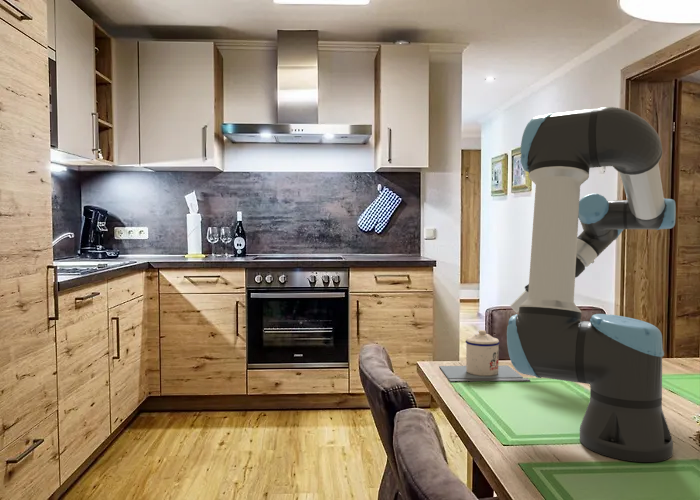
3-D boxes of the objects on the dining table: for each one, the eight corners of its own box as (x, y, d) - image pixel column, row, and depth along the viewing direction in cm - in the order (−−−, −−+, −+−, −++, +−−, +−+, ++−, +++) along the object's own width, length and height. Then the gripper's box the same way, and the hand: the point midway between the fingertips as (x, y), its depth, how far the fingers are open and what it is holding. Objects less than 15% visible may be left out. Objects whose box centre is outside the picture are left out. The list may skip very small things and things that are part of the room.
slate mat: (523, 378, 144) (523, 377, 144) (448, 379, 144) (448, 377, 144) (507, 366, 157) (507, 365, 157) (439, 367, 157) (439, 366, 157)
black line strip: (530, 381, 141) (530, 380, 141) (450, 382, 141) (450, 380, 141) (527, 379, 143) (527, 378, 143) (448, 379, 143) (448, 378, 143)
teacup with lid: (496, 378, 143) (497, 334, 143) (462, 374, 147) (462, 332, 146) (502, 367, 154) (502, 327, 154) (470, 364, 158) (470, 325, 157)
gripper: (607, 271, 138) (548, 330, 138) (565, 265, 162) (515, 315, 163) (586, 250, 137) (527, 309, 137) (548, 248, 162) (498, 298, 162)
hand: (521, 313), depth 150 cm, fingers open, 13 cm apart
